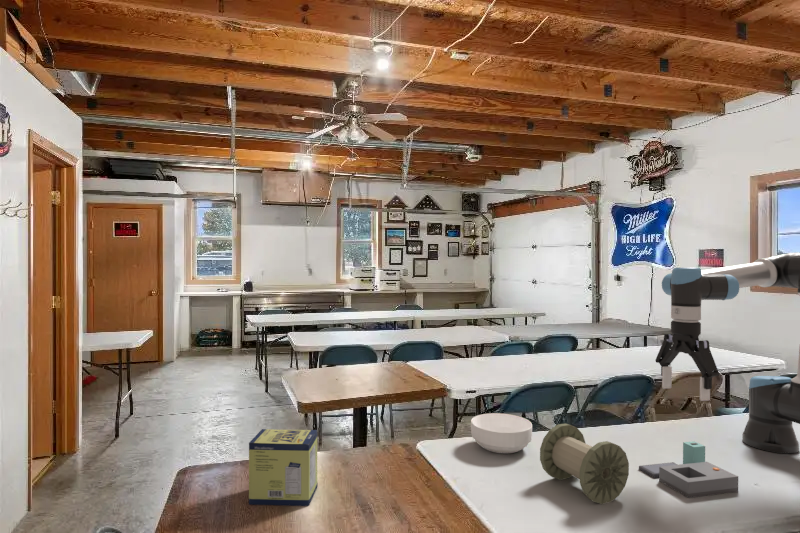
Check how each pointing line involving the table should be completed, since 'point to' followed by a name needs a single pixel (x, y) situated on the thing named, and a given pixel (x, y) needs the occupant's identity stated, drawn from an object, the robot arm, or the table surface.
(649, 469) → the phone
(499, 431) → the bowl
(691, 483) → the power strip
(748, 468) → the table surface
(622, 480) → the spool
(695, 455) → the block
